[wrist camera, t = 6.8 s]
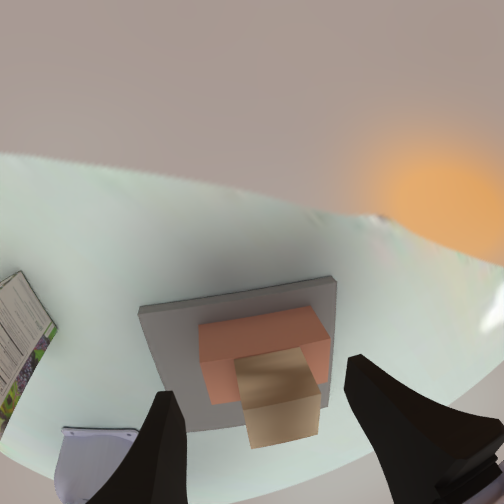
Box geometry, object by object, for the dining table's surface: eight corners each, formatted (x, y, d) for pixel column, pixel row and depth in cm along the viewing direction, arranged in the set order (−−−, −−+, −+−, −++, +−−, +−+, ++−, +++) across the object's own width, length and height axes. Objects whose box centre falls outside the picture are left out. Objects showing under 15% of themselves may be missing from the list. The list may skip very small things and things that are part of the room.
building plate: (184, 424, 26) (184, 432, 25) (139, 306, 21) (137, 314, 20) (324, 399, 27) (327, 406, 27) (331, 276, 22) (336, 282, 21)
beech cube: (241, 401, 19) (251, 448, 15) (233, 359, 17) (242, 410, 14) (300, 390, 19) (317, 434, 16) (299, 346, 18) (321, 393, 14)
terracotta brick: (208, 366, 22) (211, 404, 19) (198, 324, 21) (199, 362, 17) (310, 347, 23) (327, 381, 19) (310, 305, 22) (330, 338, 18)
